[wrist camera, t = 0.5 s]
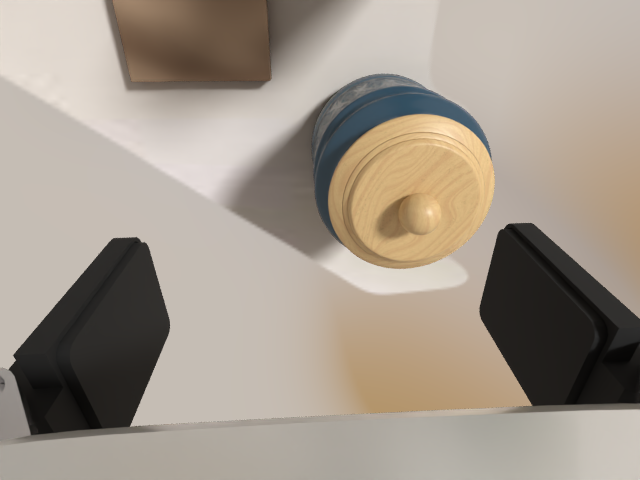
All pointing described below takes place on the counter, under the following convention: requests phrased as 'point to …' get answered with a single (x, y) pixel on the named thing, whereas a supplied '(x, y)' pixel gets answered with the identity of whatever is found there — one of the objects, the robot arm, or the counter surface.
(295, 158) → the counter surface
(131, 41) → the walnut board
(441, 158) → the canister
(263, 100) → the counter surface
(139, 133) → the counter surface
